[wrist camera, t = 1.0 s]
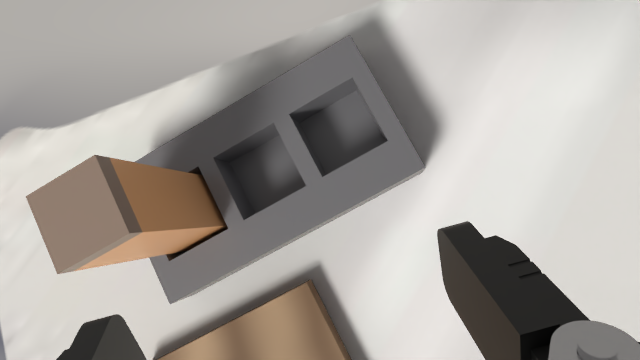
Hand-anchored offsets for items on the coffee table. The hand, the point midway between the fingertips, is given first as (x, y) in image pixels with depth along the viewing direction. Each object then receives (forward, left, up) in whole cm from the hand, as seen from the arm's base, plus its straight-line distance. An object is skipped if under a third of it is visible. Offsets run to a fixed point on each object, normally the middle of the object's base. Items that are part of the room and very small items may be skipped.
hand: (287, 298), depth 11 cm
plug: (+9, -7, -20) cm, 23 cm away
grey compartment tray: (+3, -7, -20) cm, 22 cm away
